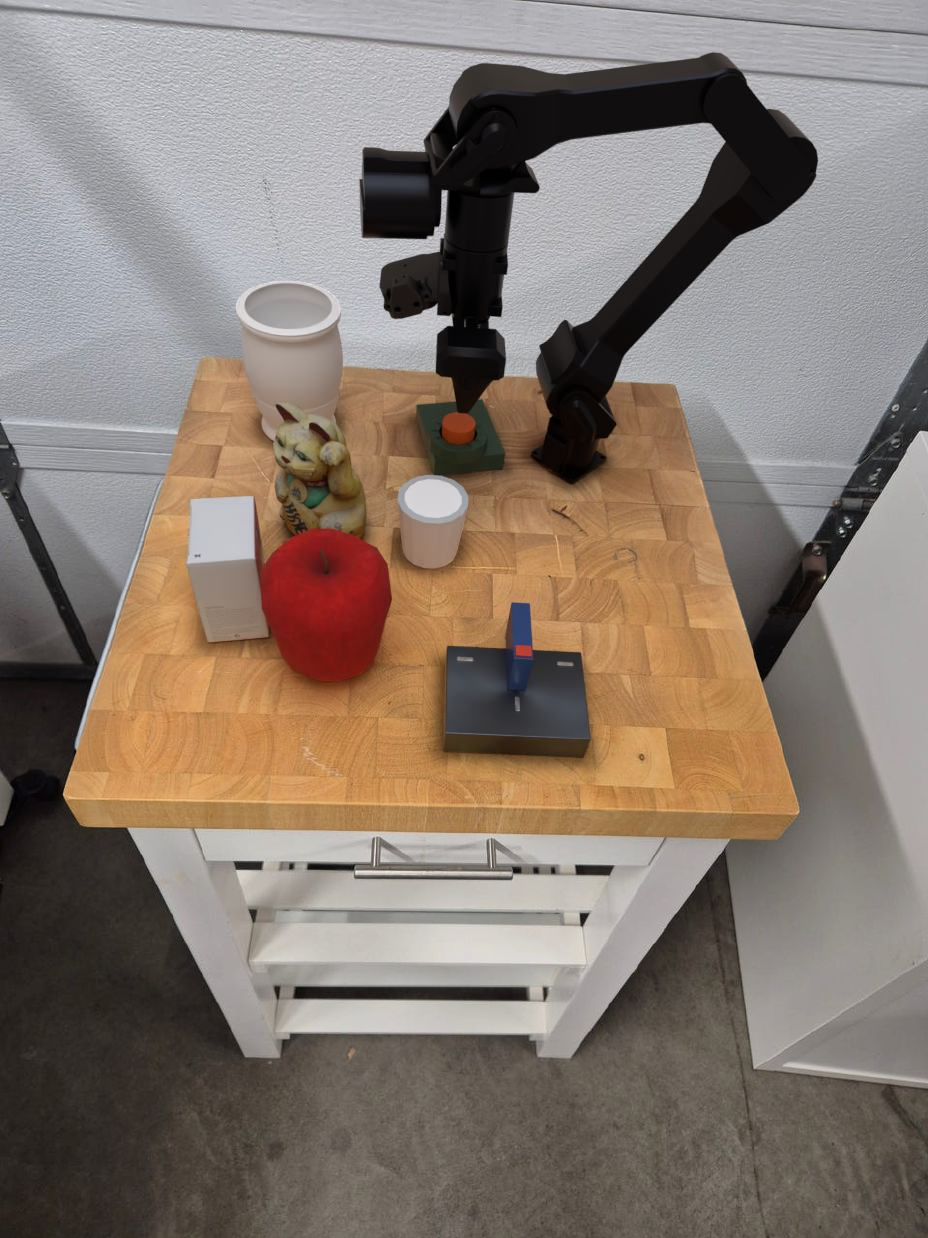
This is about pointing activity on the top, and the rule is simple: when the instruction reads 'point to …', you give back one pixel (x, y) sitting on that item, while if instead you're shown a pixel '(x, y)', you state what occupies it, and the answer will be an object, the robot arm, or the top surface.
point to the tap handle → (518, 646)
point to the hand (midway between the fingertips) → (462, 386)
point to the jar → (291, 349)
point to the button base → (459, 458)
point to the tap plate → (514, 704)
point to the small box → (227, 567)
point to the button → (458, 428)
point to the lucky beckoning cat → (316, 475)
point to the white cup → (431, 519)
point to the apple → (326, 602)
